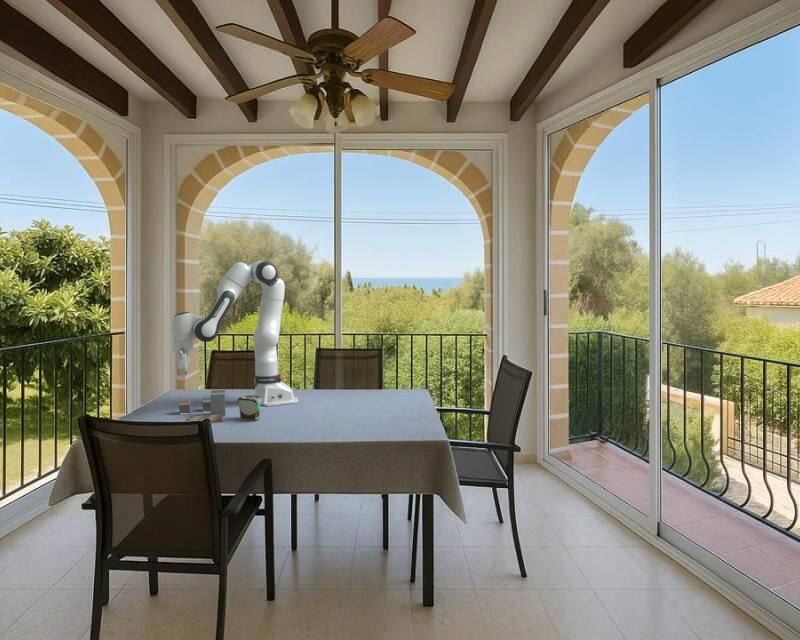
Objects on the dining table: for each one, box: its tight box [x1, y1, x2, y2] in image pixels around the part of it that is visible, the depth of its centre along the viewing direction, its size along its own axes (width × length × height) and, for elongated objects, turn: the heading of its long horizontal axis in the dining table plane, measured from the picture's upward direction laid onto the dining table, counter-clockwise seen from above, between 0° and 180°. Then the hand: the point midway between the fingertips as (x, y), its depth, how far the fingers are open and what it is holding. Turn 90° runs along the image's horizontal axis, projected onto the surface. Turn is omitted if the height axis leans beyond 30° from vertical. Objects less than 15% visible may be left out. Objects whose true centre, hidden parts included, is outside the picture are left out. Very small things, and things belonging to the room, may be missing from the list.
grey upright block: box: [210, 389, 226, 417], centre depth 246 cm, size 6×6×11 cm
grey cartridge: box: [202, 396, 211, 412], centre depth 255 cm, size 4×4×6 cm
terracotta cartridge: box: [178, 399, 191, 414], centre depth 249 cm, size 4×4×6 cm
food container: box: [237, 394, 262, 422], centre depth 239 cm, size 12×6×10 cm, turn 59°
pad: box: [187, 414, 224, 424], centre depth 236 cm, size 14×10×1 cm
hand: (184, 376), depth 248 cm, fingers open, 8 cm apart
